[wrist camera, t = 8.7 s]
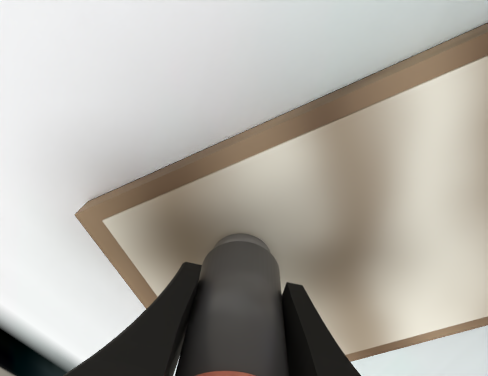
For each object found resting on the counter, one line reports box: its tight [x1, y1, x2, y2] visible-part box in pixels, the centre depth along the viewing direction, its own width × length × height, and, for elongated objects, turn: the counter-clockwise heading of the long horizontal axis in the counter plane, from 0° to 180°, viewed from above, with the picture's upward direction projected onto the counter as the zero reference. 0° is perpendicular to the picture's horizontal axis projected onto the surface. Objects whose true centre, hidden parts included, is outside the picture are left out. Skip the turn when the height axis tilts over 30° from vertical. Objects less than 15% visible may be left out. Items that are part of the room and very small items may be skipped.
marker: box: [175, 234, 289, 376], centre depth 11 cm, size 3×3×8 cm
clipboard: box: [75, 23, 488, 362], centre depth 14 cm, size 20×13×2 cm, turn 115°
